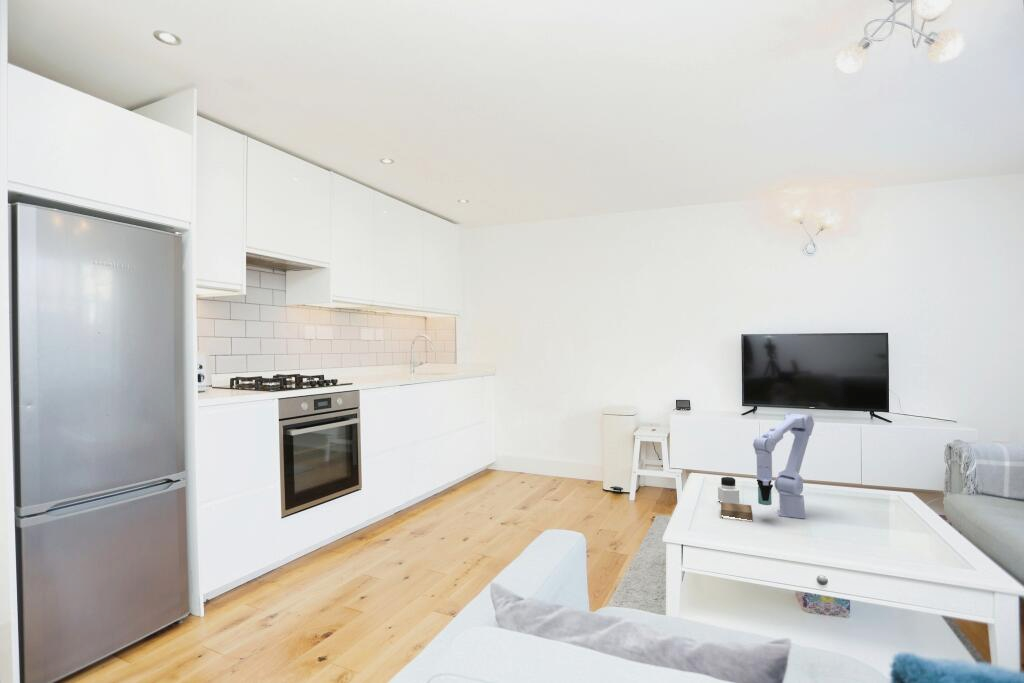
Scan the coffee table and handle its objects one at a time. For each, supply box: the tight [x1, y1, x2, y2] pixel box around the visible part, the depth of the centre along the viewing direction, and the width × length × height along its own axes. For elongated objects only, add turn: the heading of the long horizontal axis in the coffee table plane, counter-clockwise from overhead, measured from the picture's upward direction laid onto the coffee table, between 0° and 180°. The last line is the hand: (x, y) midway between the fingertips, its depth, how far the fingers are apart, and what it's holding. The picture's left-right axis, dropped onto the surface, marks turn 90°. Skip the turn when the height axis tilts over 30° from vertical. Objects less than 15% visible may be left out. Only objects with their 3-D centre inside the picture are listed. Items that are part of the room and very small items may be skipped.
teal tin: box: [757, 486, 773, 506], centre depth 214 cm, size 5×5×6 cm
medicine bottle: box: [717, 476, 740, 504], centre depth 239 cm, size 7×7×12 cm
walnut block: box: [720, 502, 753, 521], centre depth 220 cm, size 12×12×4 cm
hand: (764, 499), depth 214 cm, fingers closed on teal tin, 5 cm apart
